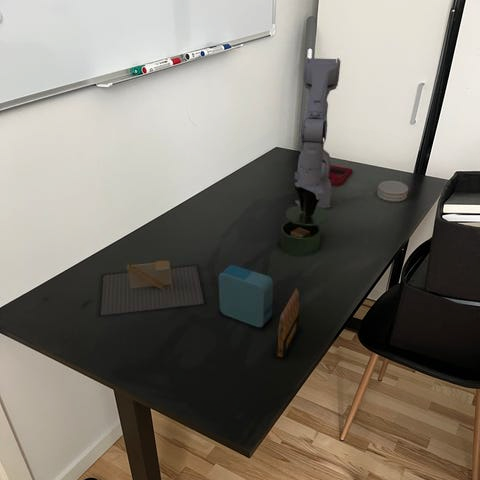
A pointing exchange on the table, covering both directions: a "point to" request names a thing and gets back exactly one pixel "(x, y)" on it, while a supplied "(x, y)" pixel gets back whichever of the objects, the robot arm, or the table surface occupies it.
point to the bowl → (297, 243)
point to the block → (300, 233)
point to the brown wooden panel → (288, 325)
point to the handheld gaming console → (338, 175)
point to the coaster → (392, 191)
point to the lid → (301, 219)
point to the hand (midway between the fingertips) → (307, 212)
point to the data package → (246, 295)
